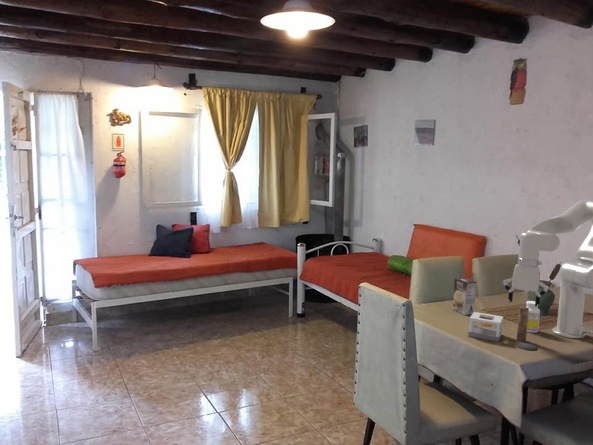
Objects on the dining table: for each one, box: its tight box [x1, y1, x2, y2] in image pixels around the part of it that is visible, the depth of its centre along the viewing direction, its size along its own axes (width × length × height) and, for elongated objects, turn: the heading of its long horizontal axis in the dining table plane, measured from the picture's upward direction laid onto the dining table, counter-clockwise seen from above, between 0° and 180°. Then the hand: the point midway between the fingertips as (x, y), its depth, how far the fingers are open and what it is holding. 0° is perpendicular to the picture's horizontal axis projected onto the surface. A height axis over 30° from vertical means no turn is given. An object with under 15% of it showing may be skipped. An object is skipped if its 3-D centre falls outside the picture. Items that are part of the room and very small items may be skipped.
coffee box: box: [452, 277, 477, 316], centre depth 253 cm, size 9×6×16 cm
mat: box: [517, 342, 538, 351], centre depth 208 cm, size 7×7×1 cm
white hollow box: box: [467, 311, 504, 342], centre depth 220 cm, size 12×10×8 cm
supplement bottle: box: [525, 300, 541, 334], centre depth 228 cm, size 7×7×13 cm
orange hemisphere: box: [480, 322, 492, 328], centre depth 220 cm, size 4×4×2 cm
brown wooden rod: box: [516, 306, 529, 343], centre depth 215 cm, size 4×4×14 cm
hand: (523, 303), depth 214 cm, fingers open, 9 cm apart
